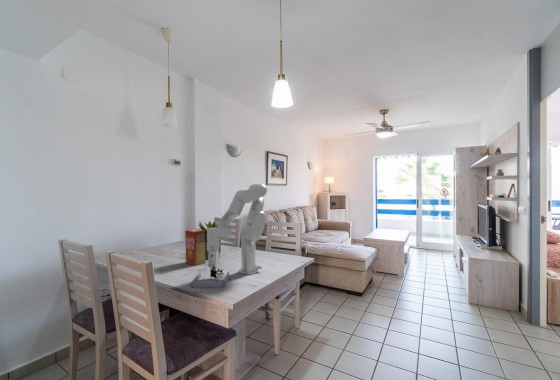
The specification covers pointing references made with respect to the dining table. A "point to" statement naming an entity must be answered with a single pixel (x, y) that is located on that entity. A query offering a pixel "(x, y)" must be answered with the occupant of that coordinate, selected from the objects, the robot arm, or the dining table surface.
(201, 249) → the food packaging
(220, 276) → the valve
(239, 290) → the dining table surface
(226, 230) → the robot arm
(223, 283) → the tray frame
